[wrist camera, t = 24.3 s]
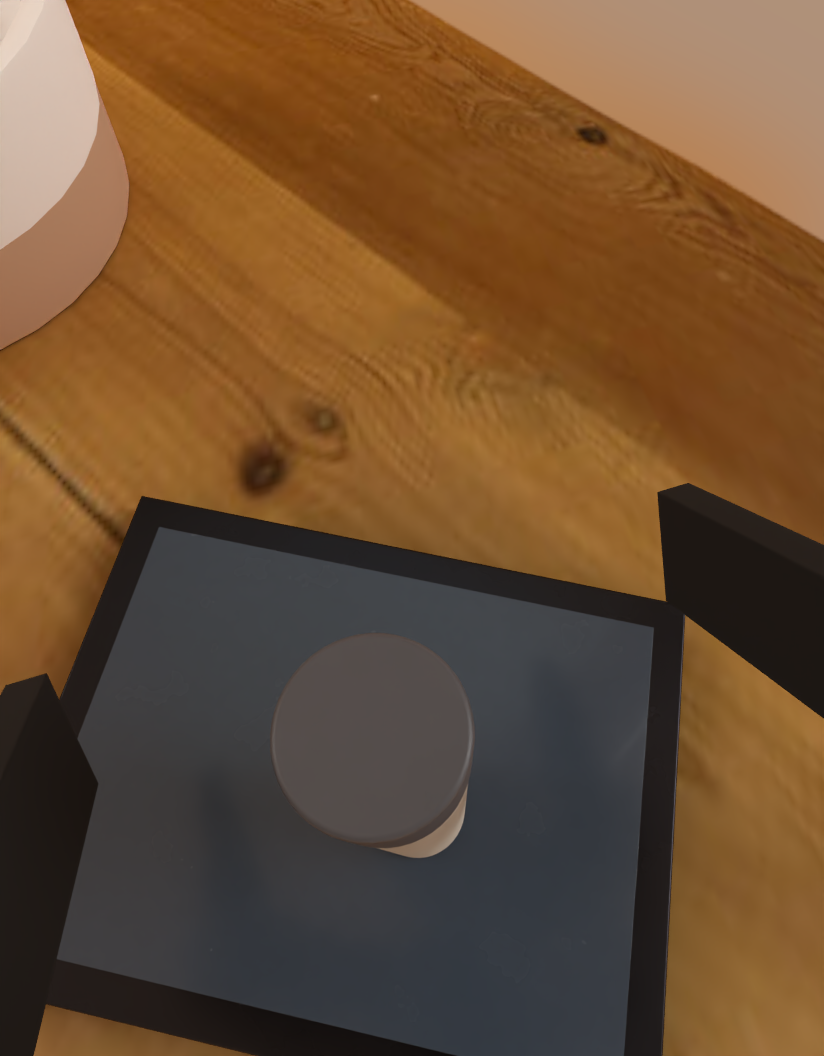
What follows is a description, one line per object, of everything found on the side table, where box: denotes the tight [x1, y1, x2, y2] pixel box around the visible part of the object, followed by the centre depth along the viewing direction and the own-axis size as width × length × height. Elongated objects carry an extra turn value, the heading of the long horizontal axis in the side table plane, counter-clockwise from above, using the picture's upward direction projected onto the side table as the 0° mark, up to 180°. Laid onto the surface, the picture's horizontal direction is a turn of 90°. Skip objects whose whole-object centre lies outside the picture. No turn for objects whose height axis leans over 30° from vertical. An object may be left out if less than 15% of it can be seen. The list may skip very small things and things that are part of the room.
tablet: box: [46, 496, 685, 1056], centre depth 21 cm, size 18×14×1 cm
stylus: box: [270, 633, 475, 858], centre depth 15 cm, size 3×3×12 cm
